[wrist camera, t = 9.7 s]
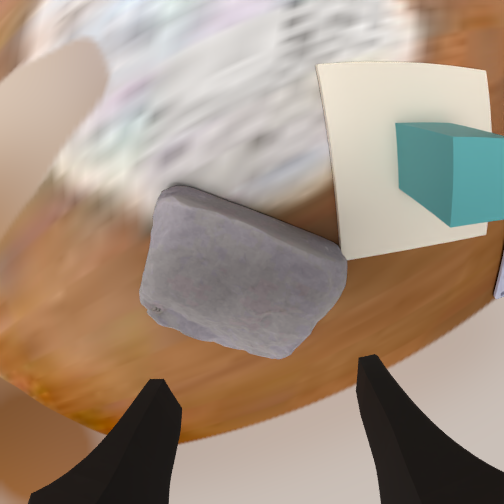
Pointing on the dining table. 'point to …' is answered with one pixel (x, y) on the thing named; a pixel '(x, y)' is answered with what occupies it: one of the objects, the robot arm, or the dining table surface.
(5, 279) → the dining table surface
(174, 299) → the stone block
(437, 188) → the teal block
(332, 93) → the coaster
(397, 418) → the robot arm
